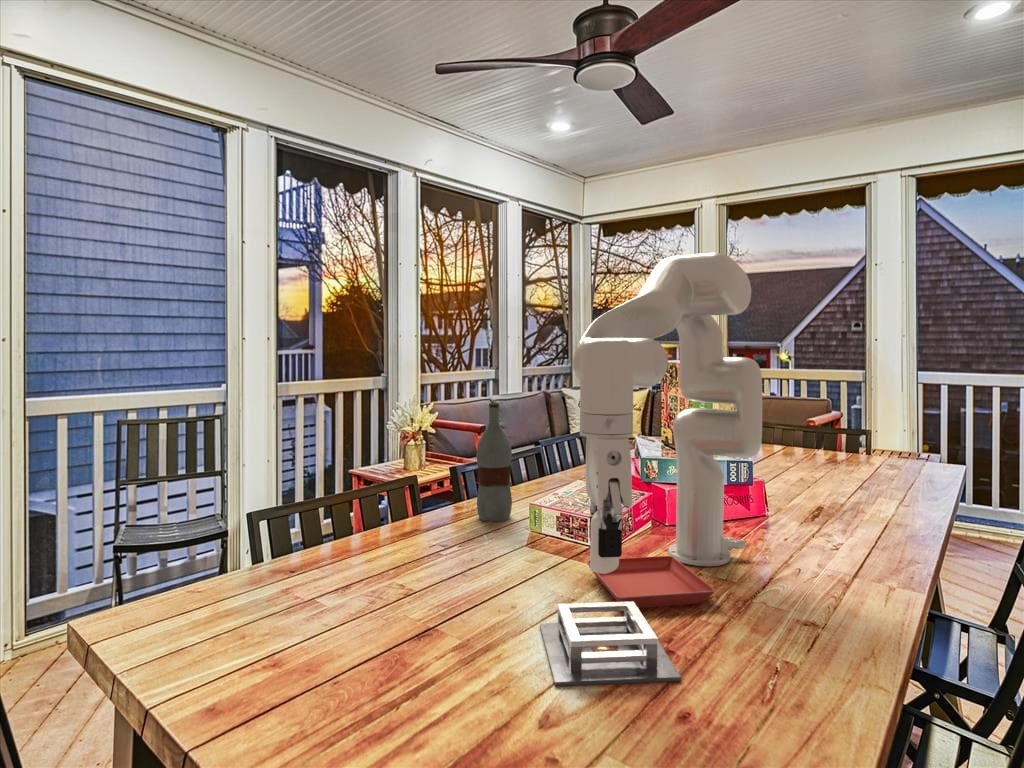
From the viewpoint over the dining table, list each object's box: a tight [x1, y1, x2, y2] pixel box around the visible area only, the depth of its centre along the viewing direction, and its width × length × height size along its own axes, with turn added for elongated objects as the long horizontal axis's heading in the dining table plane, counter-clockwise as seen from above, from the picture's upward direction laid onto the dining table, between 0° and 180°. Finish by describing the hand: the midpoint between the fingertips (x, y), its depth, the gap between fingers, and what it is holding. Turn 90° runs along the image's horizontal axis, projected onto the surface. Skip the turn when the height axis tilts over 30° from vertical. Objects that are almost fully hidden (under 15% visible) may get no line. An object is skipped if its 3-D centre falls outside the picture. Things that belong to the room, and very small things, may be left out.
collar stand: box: [539, 601, 682, 687], centre depth 89 cm, size 17×17×5 cm
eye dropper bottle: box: [589, 502, 620, 574], centre depth 88 cm, size 4×6×12 cm
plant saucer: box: [586, 555, 716, 609], centre depth 112 cm, size 18×18×3 cm
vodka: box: [476, 402, 513, 522], centre depth 158 cm, size 9×9×30 cm
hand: (605, 548), depth 88 cm, fingers closed on eye dropper bottle, 5 cm apart
